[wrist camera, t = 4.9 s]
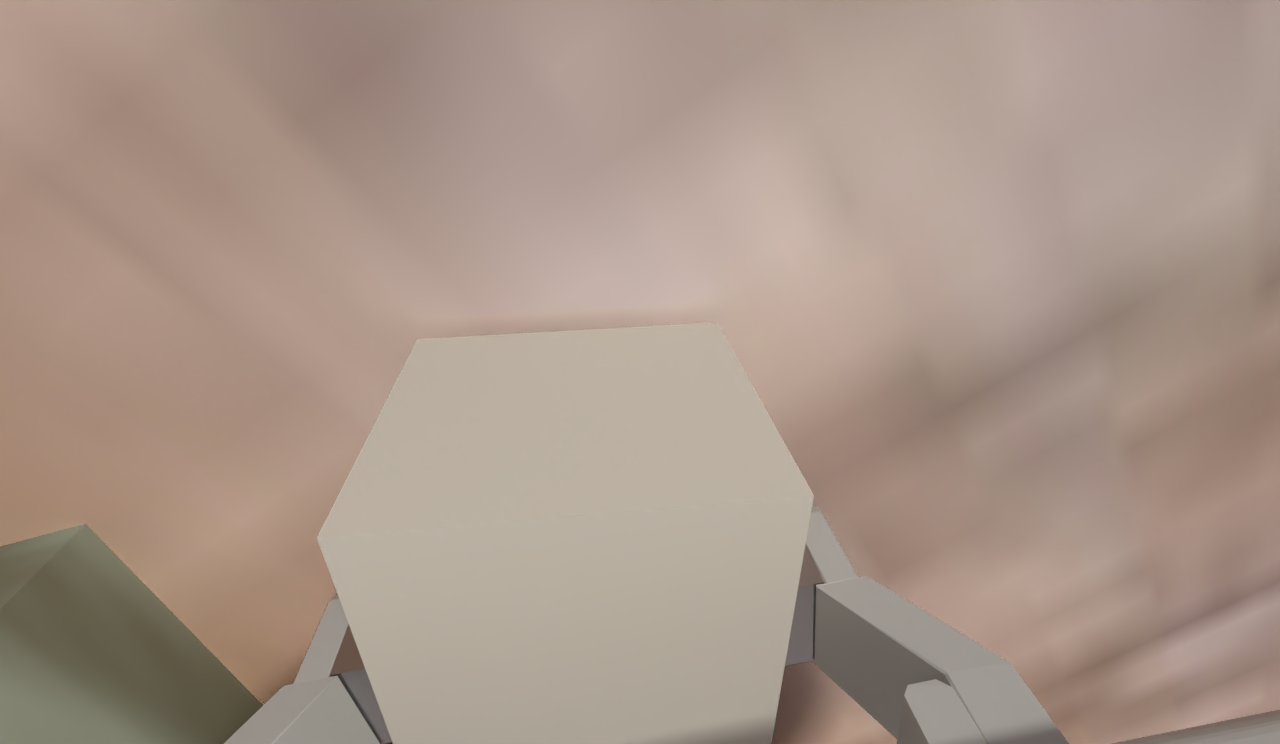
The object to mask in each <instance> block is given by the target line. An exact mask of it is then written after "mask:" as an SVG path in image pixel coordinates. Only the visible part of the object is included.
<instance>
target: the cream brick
mask: <svg viewBox="0 0 1280 744" xmlns="http://www.w3.org/2000/svg"><path fill="white" fill-rule="evenodd" d="M813 497H814V495H813V493H812V491H811V489H810V488H809V486H808V484H807V482H806V480H805V479H804V477H803V475H802V473H801V472H800V470H799V468H798V466H797V464H796V463H795V461H794V459H793V457H792V455H791V454H790V452H789V450H788V448H787V447H786V445H785V443H784V441H783V439H782V438H781V436H780V434H779V432H778V430H777V429H776V427H775V425H774V423H773V422H772V420H771V418H770V416H769V414H768V413H767V411H766V409H765V407H764V405H763V404H762V402H761V400H760V398H759V397H758V395H757V393H756V391H755V389H754V388H753V386H752V384H751V382H750V380H749V379H748V377H747V375H746V373H745V372H744V370H743V368H742V366H741V364H740V363H739V361H738V359H737V357H736V355H735V354H734V352H733V350H732V348H731V347H730V345H729V343H728V341H727V339H726V338H725V336H724V334H723V332H722V330H721V329H720V327H719V325H718V323H717V322H715V323H697V324H679V325H661V326H643V327H625V328H608V329H590V330H572V331H554V332H536V333H518V334H500V335H482V336H465V337H447V338H429V339H417V341H416V343H415V345H414V347H413V349H412V351H411V353H410V355H409V357H408V359H407V361H406V363H405V365H404V367H403V369H402V370H401V372H400V374H399V376H398V378H397V380H396V382H395V384H394V386H393V388H392V390H391V392H390V394H389V396H388V398H387V400H386V402H385V404H384V406H383V408H382V410H381V412H380V414H379V416H378V418H377V420H376V422H375V424H374V426H373V428H372V430H371V432H370V434H369V436H368V438H367V440H366V442H365V444H364V446H363V447H362V449H361V451H360V453H359V455H358V457H357V459H356V461H355V463H354V465H353V467H352V469H351V471H350V473H349V475H348V477H347V479H346V481H345V483H344V485H343V487H342V489H341V491H340V493H339V495H338V497H337V499H336V501H335V503H334V505H333V507H332V509H331V511H330V513H329V515H328V517H327V519H326V521H325V522H324V524H323V526H322V528H321V530H320V532H319V534H318V536H317V540H318V543H319V545H320V548H321V551H322V553H323V556H324V559H325V561H326V564H327V567H328V570H329V572H330V575H331V578H332V580H333V583H334V586H335V588H336V591H337V594H338V597H339V599H340V602H341V605H342V607H343V610H344V613H345V615H346V618H347V621H348V623H349V626H350V629H351V632H352V634H353V637H354V640H355V642H356V645H357V648H358V650H359V653H360V656H361V659H362V661H363V664H364V667H365V669H366V672H367V675H368V677H369V680H370V683H371V686H372V688H373V691H374V694H375V696H376V699H377V702H378V704H379V707H380V710H381V713H382V715H383V718H384V721H385V723H386V726H387V729H388V731H389V734H390V737H391V739H392V742H393V744H771V743H772V738H773V732H774V726H775V720H776V714H777V708H778V702H779V697H780V691H781V685H782V679H783V673H784V667H785V661H786V656H787V650H788V644H789V638H790V632H791V626H792V620H793V615H794V609H795V603H796V597H797V591H798V585H799V579H800V574H801V568H802V562H803V556H804V550H805V544H806V538H807V533H808V527H809V521H810V515H811V509H812V503H813Z"/></svg>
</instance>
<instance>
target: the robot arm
mask: <svg viewBox="0 0 1280 744" xmlns="http://www.w3.org/2000/svg"><path fill="white" fill-rule="evenodd" d="M810 661H814V663H815V664H816V665H817V666H818V667H819V668H820V669H821V670H822V671H823V672H824V673H825V674H827V675H828V676H829V677H830V678H831V679H832V680H833V681H834V682H835V683H836V684H837V685H838V686H840V687H841V688H842V689H843V690H844V691H845V692H846V693H847V694H848V695H849V696H850V697H852V698H853V699H854V700H855V701H856V702H857V703H858V704H859V705H860V706H861V707H862V708H864V709H865V710H866V711H867V712H868V713H869V714H870V715H871V716H872V717H873V718H874V719H876V720H877V721H878V722H879V723H880V724H881V725H882V726H883V727H884V728H885V729H886V730H888V731H889V732H890V733H891V734H892V735H893V736H894V737H895V738H896V739H897V744H1069V743H1068V741H1067V740H1066V739H1065V737H1064V736H1063V735H1062V733H1061V732H1060V730H1059V729H1058V728H1057V726H1056V725H1055V724H1054V722H1053V721H1052V719H1051V718H1050V717H1049V715H1048V714H1047V713H1046V711H1045V710H1044V708H1043V707H1042V706H1041V704H1040V703H1039V702H1038V700H1037V699H1036V697H1035V696H1034V695H1033V693H1032V692H1031V691H1030V689H1029V688H1028V686H1027V685H1026V684H1025V682H1024V681H1023V680H1022V678H1021V677H1020V675H1019V674H1018V673H1017V671H1016V670H1015V669H1014V667H1013V666H1012V664H1011V663H1010V662H1008V661H1007V660H1005V659H1003V658H1002V657H1000V656H998V655H997V654H995V653H993V652H992V651H990V650H988V649H987V648H985V647H983V646H982V645H980V644H978V643H977V642H975V641H974V640H972V639H970V638H969V637H967V636H965V635H964V634H962V633H960V632H959V631H957V630H955V629H954V628H952V627H950V626H949V625H947V624H946V623H944V622H942V621H941V620H939V619H937V618H936V617H934V616H932V615H931V614H929V613H927V612H926V611H924V610H922V609H921V608H919V607H917V606H916V605H914V604H913V603H911V602H909V601H908V600H906V599H904V598H903V597H901V596H899V595H898V594H896V593H894V592H893V591H891V590H889V589H888V588H886V587H884V586H883V585H881V584H880V583H878V582H876V581H875V580H873V579H871V578H870V577H868V576H863V577H858V576H857V574H856V573H855V571H854V569H853V567H852V565H851V564H850V562H849V560H848V558H847V557H846V555H845V553H844V551H843V550H842V548H841V546H840V544H839V542H838V541H837V539H836V537H835V535H834V534H833V532H832V530H831V528H830V527H829V525H828V523H827V521H826V519H825V518H824V516H823V514H822V512H821V511H820V509H818V508H817V507H816V506H813V507H812V509H811V515H810V521H809V527H808V533H807V538H806V544H805V550H804V556H803V562H802V568H801V574H800V579H799V585H798V591H797V597H796V603H795V609H794V615H793V620H792V626H791V632H790V638H789V644H788V650H787V656H786V661H785V665H792V664H798V663H804V662H810ZM389 742H392V739H391V737H390V734H389V731H388V729H387V726H386V723H385V721H384V718H383V715H382V713H381V710H380V707H379V704H378V702H377V699H376V696H375V694H374V691H373V688H372V686H371V683H370V680H369V677H368V675H367V672H366V669H365V667H364V664H363V661H362V659H361V656H360V653H359V650H358V648H357V645H356V642H355V640H354V637H353V634H352V632H351V629H350V626H349V623H348V621H347V618H346V615H345V613H344V610H343V607H342V605H341V602H340V599H339V597H338V594H336V595H335V596H334V597H333V598H332V599H331V600H330V601H329V602H328V604H327V606H326V609H325V611H324V613H323V616H322V618H321V620H320V623H319V625H318V627H317V630H316V632H315V634H314V636H313V639H312V641H311V643H310V646H309V648H308V650H307V653H306V655H305V657H304V660H303V662H302V664H301V667H300V669H299V671H298V673H297V676H296V678H295V680H294V683H293V684H289V685H285V686H283V687H282V688H281V689H280V690H279V691H278V692H277V693H276V694H275V695H274V696H273V697H272V698H270V699H269V700H268V701H267V702H266V703H265V704H264V705H263V706H262V707H261V708H260V709H259V710H258V711H257V712H256V713H255V714H254V715H253V716H252V717H251V718H250V719H249V720H248V721H247V722H246V723H245V724H244V725H242V726H241V727H240V728H239V729H238V730H237V731H236V732H235V733H234V734H233V735H232V736H231V737H230V738H229V739H228V740H227V741H226V742H225V743H224V744H385V743H389ZM1112 744H1280V710H1276V711H1271V712H1266V713H1261V714H1256V715H1251V716H1246V717H1241V718H1236V719H1231V720H1226V721H1221V722H1216V723H1211V724H1206V725H1201V726H1196V727H1191V728H1186V729H1181V730H1176V731H1172V732H1167V733H1162V734H1157V735H1152V736H1147V737H1142V738H1137V739H1132V740H1127V741H1122V742H1117V743H1112Z"/></svg>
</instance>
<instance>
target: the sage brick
mask: <svg viewBox="0 0 1280 744" xmlns="http://www.w3.org/2000/svg"><path fill="white" fill-rule="evenodd" d="M262 706H263V705H262V704H261V703H260V702H259V701H258V700H257V699H256V698H255V697H254V696H253V695H252V694H251V693H250V692H249V691H248V690H247V689H246V688H245V687H244V686H243V685H242V684H241V682H240V681H239V680H238V679H237V678H236V677H235V676H234V675H233V674H232V673H231V672H230V671H229V670H228V669H227V668H226V667H225V666H224V665H223V664H222V663H221V662H220V661H219V660H218V659H217V658H216V657H215V656H214V655H213V654H212V653H211V652H210V651H209V650H208V649H207V648H206V647H205V646H204V645H203V644H202V643H201V642H200V640H199V639H198V638H197V637H196V636H195V635H194V634H193V633H192V632H191V631H190V630H189V629H188V628H187V627H186V626H185V625H184V624H183V623H182V622H181V621H180V620H179V619H178V618H177V617H176V616H175V615H174V614H173V613H172V612H171V611H170V610H169V609H168V608H167V607H166V606H165V605H164V604H163V603H162V602H161V601H160V600H159V598H158V597H157V596H156V595H155V594H154V593H153V592H152V591H151V590H150V589H149V588H148V587H147V586H146V585H145V584H144V583H143V582H142V581H141V580H140V579H139V578H138V577H137V576H136V575H135V574H134V573H133V572H132V571H131V570H130V569H129V568H128V567H127V566H126V565H125V564H124V563H123V562H122V561H121V560H120V559H119V558H118V556H117V555H116V554H115V553H114V552H113V551H112V550H111V549H110V548H109V547H108V546H107V545H106V544H105V543H104V542H103V541H102V540H101V539H100V538H99V537H98V536H97V535H96V534H95V533H94V532H93V531H92V530H91V529H90V528H89V527H88V526H87V525H86V524H83V525H79V526H76V527H72V528H68V529H64V530H61V531H57V532H53V533H49V534H46V535H42V536H38V537H34V538H31V539H27V540H23V541H20V542H16V543H12V544H8V545H5V546H1V547H0V744H224V743H225V742H226V741H227V740H228V739H229V738H230V737H231V736H232V735H233V734H234V733H235V732H236V731H237V730H238V729H239V728H240V727H241V726H242V725H244V724H245V723H246V722H247V721H248V720H249V719H250V718H251V717H252V716H253V715H254V714H255V713H256V712H257V711H258V710H259V709H260V708H261V707H262Z"/></svg>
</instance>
